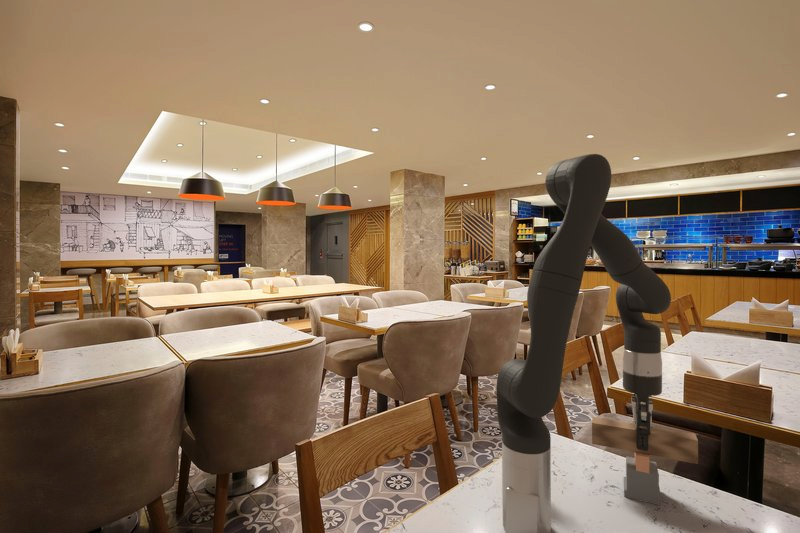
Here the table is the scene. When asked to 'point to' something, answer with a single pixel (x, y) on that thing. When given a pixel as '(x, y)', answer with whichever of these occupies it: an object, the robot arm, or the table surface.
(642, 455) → the balance stand
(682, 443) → the brown wooden beam
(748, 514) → the table surface
